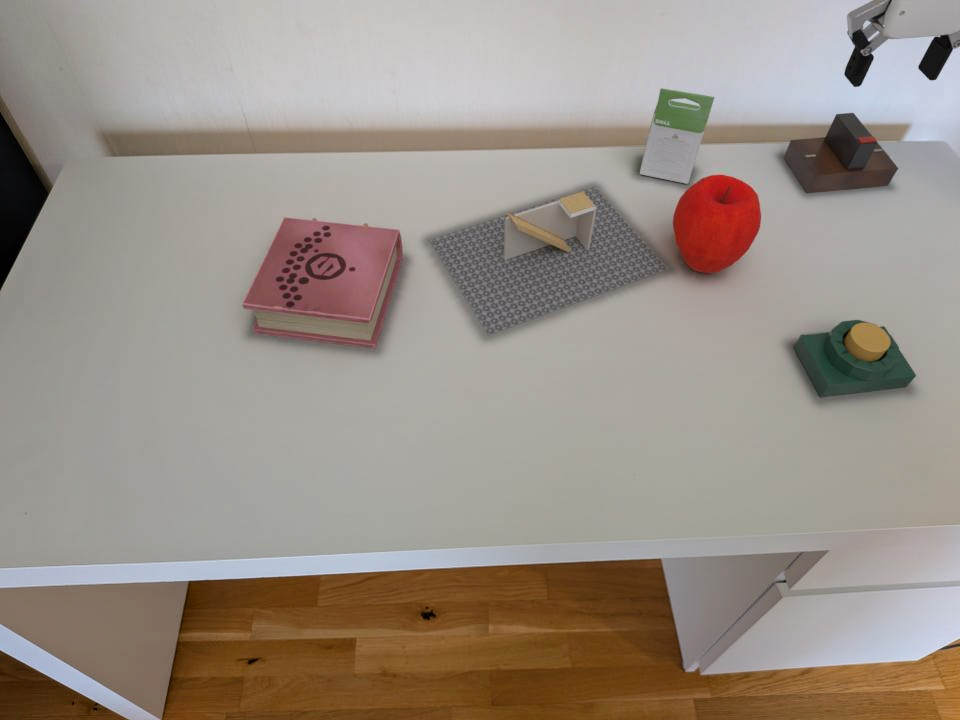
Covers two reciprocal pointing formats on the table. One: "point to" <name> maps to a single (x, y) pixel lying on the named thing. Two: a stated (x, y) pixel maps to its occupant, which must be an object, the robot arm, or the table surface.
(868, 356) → the button
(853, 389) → the box
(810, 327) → the table surface
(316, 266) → the book
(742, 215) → the apple
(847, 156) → the lock knob
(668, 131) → the ink box
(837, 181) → the plate
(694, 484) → the table surface
